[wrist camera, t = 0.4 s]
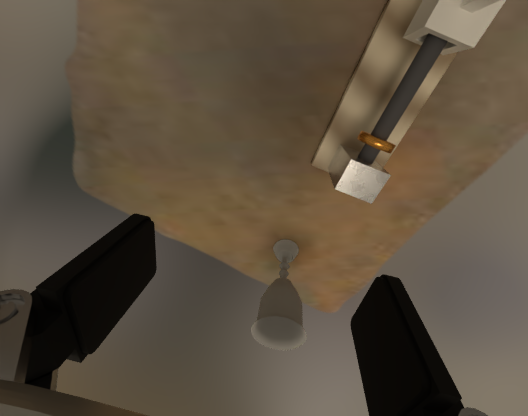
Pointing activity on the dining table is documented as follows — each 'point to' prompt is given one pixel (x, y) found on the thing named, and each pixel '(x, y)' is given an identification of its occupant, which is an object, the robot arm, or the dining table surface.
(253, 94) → the dining table surface
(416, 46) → the beige rod holder
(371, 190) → the connector
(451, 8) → the sleeve
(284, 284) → the chalice
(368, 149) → the dark grey rod
